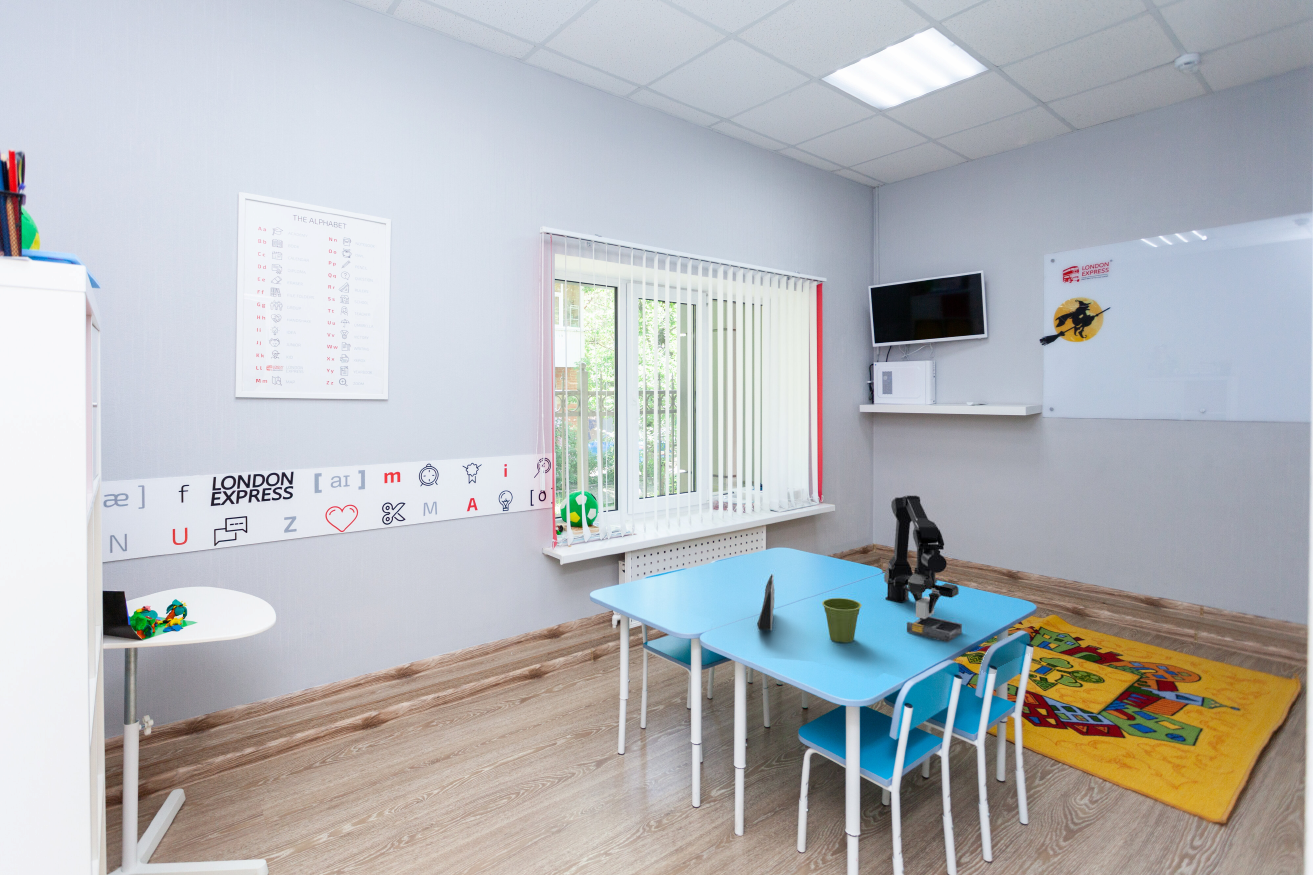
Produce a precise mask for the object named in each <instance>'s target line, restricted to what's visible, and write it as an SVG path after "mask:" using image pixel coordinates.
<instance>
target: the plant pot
mask: <svg viewBox="0 0 1313 875" xmlns="http://www.w3.org/2000/svg"><path fill="white" fill-rule="evenodd" d="M821 605H822V607H823V609H824V613H825V616H826V621H827V628H828V635H829V638H830V639H831V641H833V642H836V643H838V642H840V643H843V644H847V643H851V642H853V641H854V639H855V635H856V629H857V628H856V627H857V621H858V616H859V615H860V609H861V608H862V605H863V604H862V603H860V602H859V601H857V600H855V599H851V598H843V597H834V598H827V599H825V600H823V601H822V602H821Z"/></svg>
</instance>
